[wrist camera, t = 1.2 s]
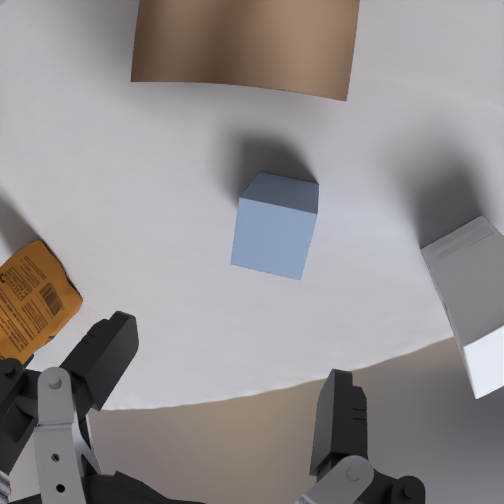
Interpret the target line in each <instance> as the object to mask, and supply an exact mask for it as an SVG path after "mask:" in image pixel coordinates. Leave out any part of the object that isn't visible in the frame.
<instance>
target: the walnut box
mask: <svg viewBox="0 0 504 504" xmlns="http://www.w3.org/2000/svg"><path fill="white" fill-rule="evenodd" d="M359 1H360V0H140V4H139V11H138V17H137V25H136V33H135V41H134V50H133V60H132V72H131V82H195V83H215V84H229V85H241V86H251V87H260V88H268V89H276V90H283V91H290V92H297V93H303V94H309V95H314V96H320V97H325V98H330V99H335V100H341V101H346V100H347V94H348V87H349V81H350V74H351V67H352V60H353V53H354V45H355V37H356V29H357V20H358V11H359Z"/></svg>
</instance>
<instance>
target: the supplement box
mask: <svg viewBox="0 0 504 504" xmlns="http://www.w3.org/2000/svg"><path fill="white" fill-rule="evenodd" d="M421 253H422V255H423V257H424V259H425V262H426V264H427V266H428V269H429V271H430V274H431V276H432V279H433V281H434V284H435V286H436V289H437V292H438V294H439V297H440V299H441V302H442V305H443V307H444V310H445V313H446V315H447V318H448V320H449V323H450V325H451V328H452V331H453V333H454V336H455V339H456V341H457V344H458V347H459V349H460V353H461V355H462V358H463V361H464V364H465V367H466V370H467V373H468V377H469V380H470V382H471V386H472V389H473V392H474V395H475V398H476V399H478V398H480V397H482V396H484V395H486V394H488V393H490V392H492V391H494V390H496V389H498V388H500V387H501V386H503V385H504V236H503V235H502V234H501V233H500V232H499V231H498V230H497V229H496V228H495V227H494V226H493V225H492V224H491V223H490V222H489V221H488V220H487V219H486V218H485V217H484V216H483V215H481V216H479V217H477V218H476V219H474V220H472V221H470V222H469V223H467V224H465V225H464V226H462V227H460V228H458V229H456V230H455V231H453V232H451V233H449V234H447V235H446V236H444V237H442V238H440V239H438V240H437V241H435V242H433V243H431V244H429V245H427V246H426V247H424V248H422V249H421Z"/></svg>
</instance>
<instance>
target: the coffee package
mask: <svg viewBox="0 0 504 504" xmlns="http://www.w3.org/2000/svg"><path fill="white" fill-rule="evenodd" d="M82 302H83V299H82V297H81V296H80V295H79V294H78V293H77V292H76V290H75V289H74V288H73V287H72V286H71V285H70V284H69V282H68V280H67V278H66V275H65V272H64V269H63V267H62V265H61V264H60V263H59V261H58V260H57V259H56V258H55V257H54V256H53V255H52V254H51V253H50V252H49V251H48V249H47V248H46V247H45V245H44V244H43V242H42V241H40V240H37V241H34V242H32V243H31V244H29V245H27V246H25V247H24V248H22V249H21V250H19V251H18V252H16V253H15V254H13V255H12V256H11V257H10V258H9V259H8V260H7V261H6V262H5V263H4V264H3V265H2V266H1V267H0V362H1V361H2V360H4V359H6V358H16V359H18V360H19V361H20V362H21V363H22V365H23V364H24V363H25V362H26V361H27V360H28V359H29V357H30V356H31V355H32V354H33V353H34V352H35V351H36V350H37V349H39V348H41V347H42V346H44V345H46V344H47V343H48V342H50V341H51V340H52V339H53V338H54V337H55V336H56V335H57V333H58V332H59V331H60V330H61V329H62V328H63V327H64V326H65V325H66V324H67V322H68V321H69V320H70V319H71V318H72V316H73V315H75V314H76V313H77V312H78V311H79V308H80V306H81V304H82Z"/></svg>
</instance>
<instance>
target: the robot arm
mask: <svg viewBox="0 0 504 504" xmlns="http://www.w3.org/2000/svg"><path fill="white" fill-rule="evenodd" d="M138 345H139V339H138V332H137V324H136V318H135V316H133V315H130V314H127V313H124V312H121V311H116V312H115V313H114V314H113V315H112V317H111V318H110V319H109V320H107V319H103V320H101V321H99V322H97V323H96V324H94V325H93V326H92V327H91V329H90V330H89V331H88V332H87V335H85V336H84V337H83V338H82V339H81V341H80V342H79V343H78V344H77V345H76V347H75V348H74V349H73V350H72V352H71V353H70V354H69V355H68V357H67V358H66V359H65V360H64V362H63V363H62V364H61V365H60V366H59V367H51V368H48V369H46V370H44V371H43V372H39V371H34V370H29V369H24V367H23V365H22V363H21V362H20V361H19V360H18V359H16V358H6V359H4V360H2V361H1V362H0V504H205V503H201V502H193V501H182V500H172V499H168V498H166V497H164V496H162V495H161V494H159V493H158V492H156V491H155V490H153V489H152V488H150V487H149V486H147V485H146V484H144V483H143V482H141V481H139V480H136V479H134V478H132V477H129V476H127V475H125V474H122V473H120V472H118V471H116V473H115V474H114V475H107V474H102V472H101V468H100V465H99V463H98V460H97V458H96V455H95V452H94V447H93V443H92V437H91V431H90V425H89V420H88V415H87V413H88V411H89V410H90V408H93V409H95V410H97V411H100V410H101V408H102V406H103V405H104V403H105V402H106V400H107V398H108V397H109V395H110V394H111V392H112V391H113V389H114V387H115V386H116V384H117V383H118V381H119V379H120V378H121V376H122V375H123V373H124V372H125V370H126V369H127V367H128V365H129V364H130V362H131V361H132V359H133V358H134V356H135V354H136V352H137V350H138ZM12 403H13V404H12ZM10 406H11V407H10ZM8 409H9V410H8ZM366 410H367V401H366V396H365V394H364V392H363V390H362V388H361V387H357V386H353V384H352V373H351V372H349V371H343V370H338V369H332V370H331V372H330V374H329V376H328V378H327V380H326V382H325V384H324V386H323V388H322V390H321V392H320V395H319V398H318V403H317V413H316V422H315V432H314V441H313V449H312V457H311V465H310V473H309V475H311V476H317V481H316V484H315V485H314V486H313V487H312V488H311V489H310V490H308V491H307V492H306V493H305V494H304V495H303V496H301V497H300V498H299V499H298V500H296V501H295V502H294V503H293V504H425V487H424V485H423V483H422V482H421V481H420V480H419V479H418V478H416V477H414V476H404V477H401V478H399V479H395V478H392V477H389V476H386V475H384V474H381V473H379V472H378V471H376V470H375V469H374V468H373V467H372V465H371V464H370V462H369V460H368V456H367V412H366ZM6 412H7V413H6ZM4 415H5V416H4ZM38 423H39V424H38ZM37 424H38V426H37ZM33 431H34V445H35V456H36V465H37V472H38V480H39V486H40V492H41V493H40V494H37V495H34V496H30V497H27V498H24V499H21V500H17V501H14V502H10V503H9V500H8V496H9V495H10V494H11V487H10V481H9V478H8V476H9V473H10V472H11V470H12V468H13V466H14V464H15V463H16V461H17V459H18V457H19V455H20V453H21V452H22V450H23V448H24V446H25V445H26V443H27V441H28V439H29V438H30V436H31V434H32V433H33Z"/></svg>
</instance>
